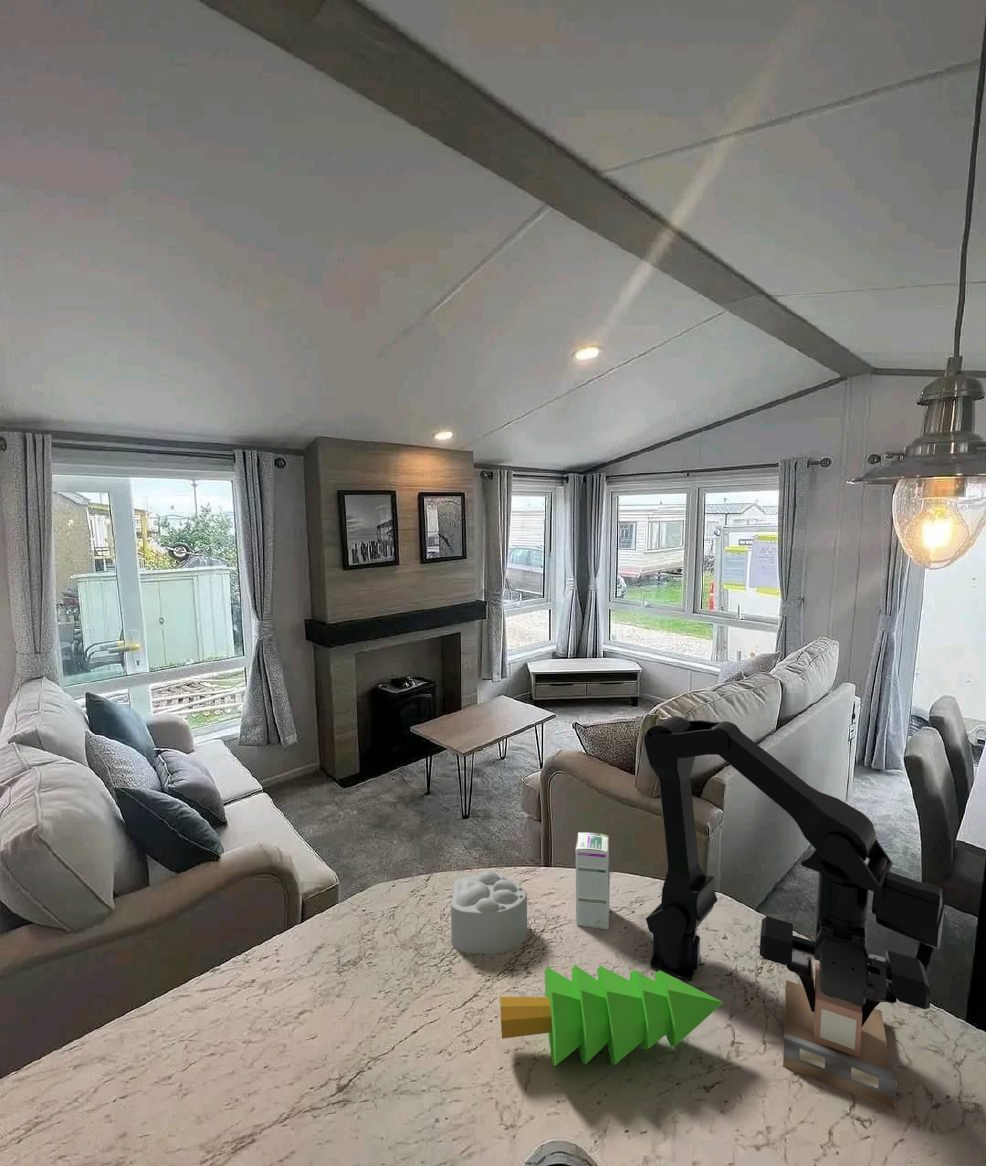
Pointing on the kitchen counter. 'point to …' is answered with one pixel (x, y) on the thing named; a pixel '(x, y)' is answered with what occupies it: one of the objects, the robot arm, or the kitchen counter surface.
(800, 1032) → the tan banded flat block
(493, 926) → the lumpy-topped squat cylinder
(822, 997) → the product carton
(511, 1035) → the decorative tree
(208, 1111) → the kitchen counter surface
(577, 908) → the syrup box
